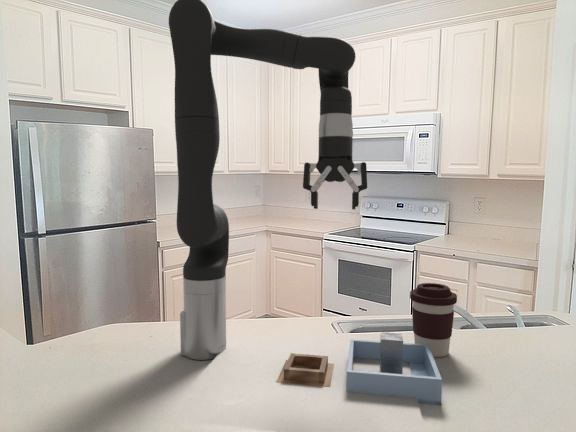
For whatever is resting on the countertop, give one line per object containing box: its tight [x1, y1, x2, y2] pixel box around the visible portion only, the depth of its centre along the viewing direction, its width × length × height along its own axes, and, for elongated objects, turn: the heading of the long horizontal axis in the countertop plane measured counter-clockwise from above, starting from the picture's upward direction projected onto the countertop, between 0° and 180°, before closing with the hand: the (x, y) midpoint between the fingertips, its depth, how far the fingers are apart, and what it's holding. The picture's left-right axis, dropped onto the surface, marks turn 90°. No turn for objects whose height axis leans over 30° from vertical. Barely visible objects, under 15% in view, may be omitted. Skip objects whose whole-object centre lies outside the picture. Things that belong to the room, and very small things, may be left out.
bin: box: [346, 338, 443, 406], centre depth 80 cm, size 16×16×4 cm
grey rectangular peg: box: [379, 331, 404, 374], centre depth 80 cm, size 4×4×8 cm
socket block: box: [275, 352, 335, 388], centre depth 81 cm, size 10×10×3 cm
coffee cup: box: [409, 282, 458, 358], centre depth 94 cm, size 10×10×15 cm
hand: (334, 208), depth 94 cm, fingers open, 8 cm apart
